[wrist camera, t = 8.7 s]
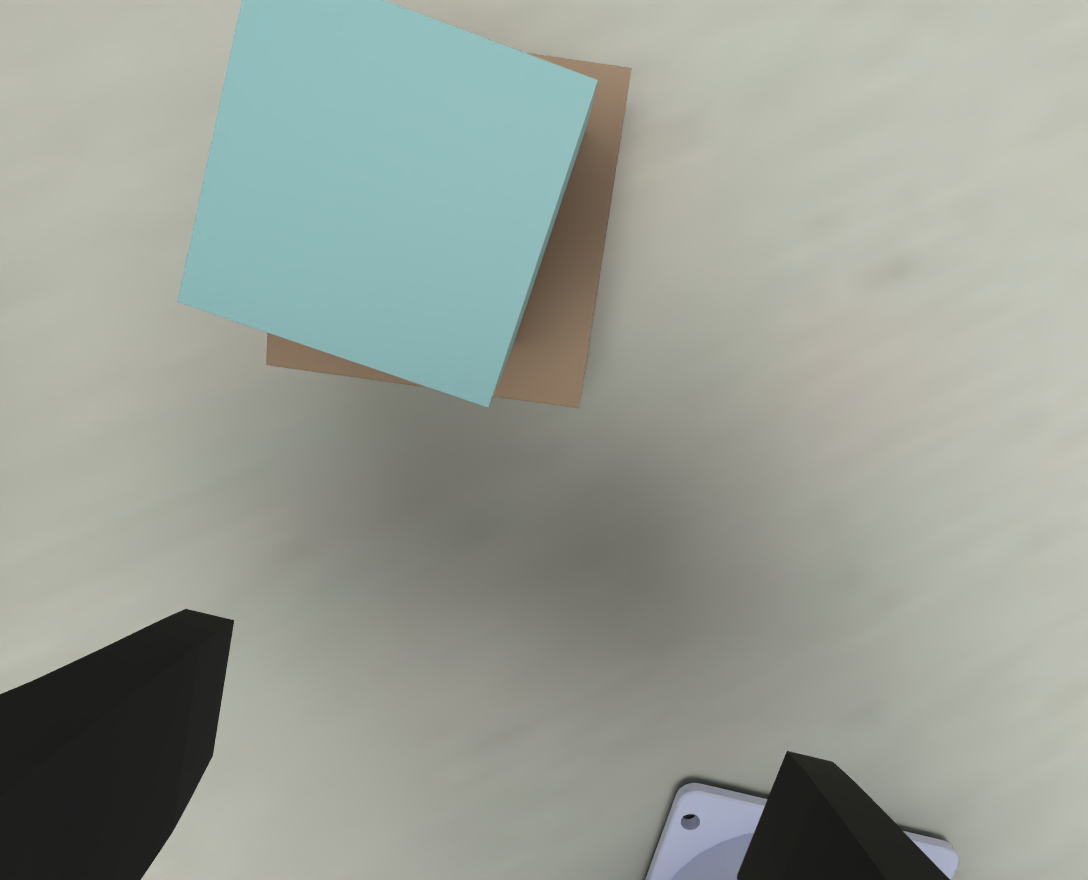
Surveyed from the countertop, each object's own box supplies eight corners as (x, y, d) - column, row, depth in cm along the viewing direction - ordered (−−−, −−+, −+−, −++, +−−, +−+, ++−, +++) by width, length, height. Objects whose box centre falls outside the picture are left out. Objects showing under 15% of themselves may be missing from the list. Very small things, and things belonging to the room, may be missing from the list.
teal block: (513, 345, 15) (488, 407, 10) (306, 274, 14) (177, 301, 10) (586, 128, 14) (598, 79, 9) (364, 46, 13) (252, -49, 9)
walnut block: (576, 368, 19) (579, 408, 15) (326, 333, 19) (266, 365, 15) (616, 100, 17) (631, 68, 13) (342, 61, 17) (279, 17, 13)
